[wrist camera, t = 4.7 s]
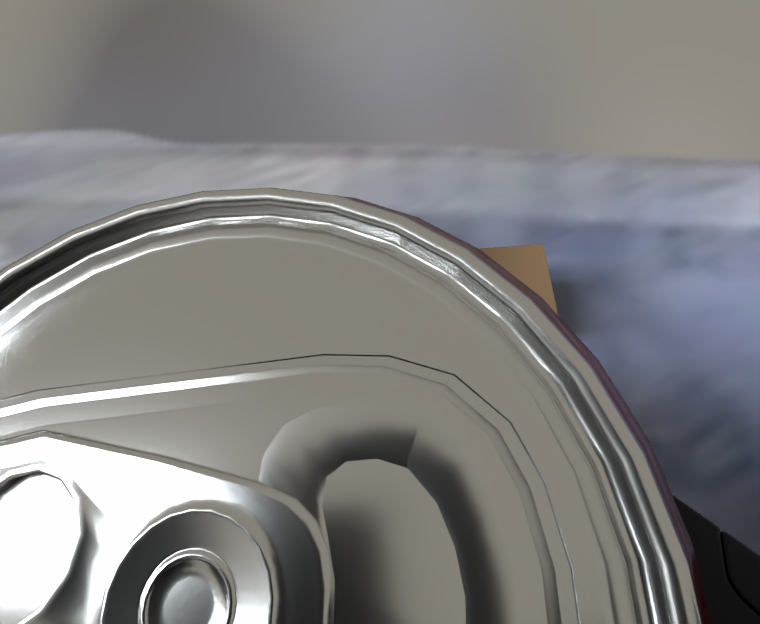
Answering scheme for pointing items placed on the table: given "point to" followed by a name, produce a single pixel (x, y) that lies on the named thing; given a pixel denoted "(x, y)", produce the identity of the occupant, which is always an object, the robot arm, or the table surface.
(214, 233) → the soda can
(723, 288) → the table surface
